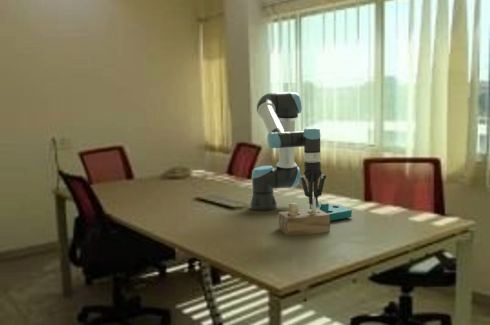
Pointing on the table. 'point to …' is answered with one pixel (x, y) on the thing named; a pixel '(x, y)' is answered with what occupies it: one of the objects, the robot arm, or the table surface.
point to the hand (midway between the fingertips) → (313, 210)
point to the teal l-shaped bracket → (334, 211)
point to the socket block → (304, 222)
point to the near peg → (293, 209)
